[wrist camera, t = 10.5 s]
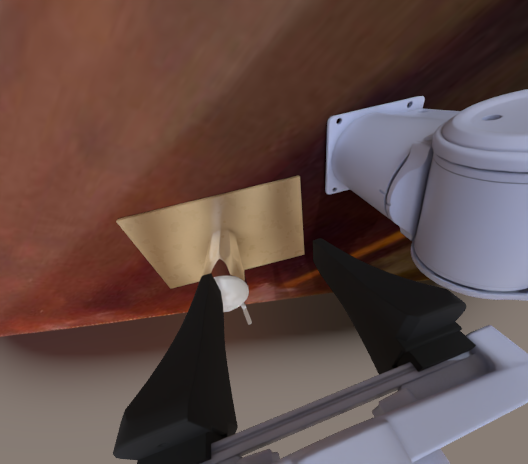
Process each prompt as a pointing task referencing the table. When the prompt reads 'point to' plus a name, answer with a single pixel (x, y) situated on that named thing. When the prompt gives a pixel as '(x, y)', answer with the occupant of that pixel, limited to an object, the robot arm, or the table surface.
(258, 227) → the desk mat
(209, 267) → the milkshake
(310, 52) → the table surface
